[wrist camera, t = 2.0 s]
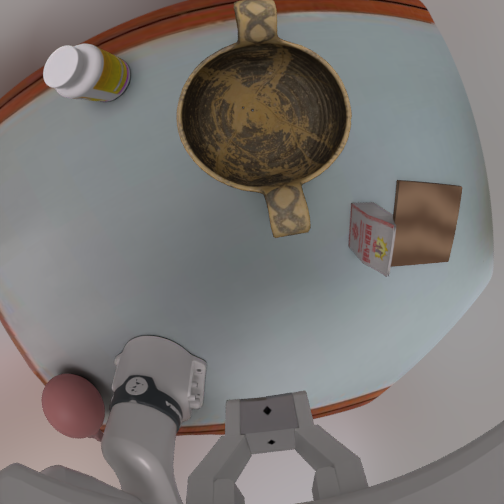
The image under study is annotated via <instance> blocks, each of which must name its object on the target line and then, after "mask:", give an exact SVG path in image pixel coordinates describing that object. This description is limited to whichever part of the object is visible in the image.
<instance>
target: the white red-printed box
mask: <svg viewBox="0 0 504 504" xmlns="http://www.w3.org/2000/svg"><path fill="white" fill-rule="evenodd" d="M395 233H396V224H395V223H394V220H393V214H391V213H390V212H388V211H386V210H385V209H383V208H382V207H380V206H379V205H377V204H375V203H374V202H371V203H351V219H350V234H349V247H350V248H351V250H352V251H353V252H354V253H355V254H356V255H357V257H358V258H359V259H360V260H361V261H362V263H363V264H365V265H367V266H369V267H371V268H373V269H375V270H377V271H378V272H380V273H382V274H383V275H385V276H386V277H387V274H388V276H389V273H390V267H391V261H392V255H393V248H394V241H395Z"/></svg>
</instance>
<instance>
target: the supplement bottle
mask: <svg viewBox="0 0 504 504" xmlns="http://www.w3.org/2000/svg"><path fill="white" fill-rule="evenodd" d="M43 76H44V81H45V83H46V84H47V85H48V86H50V87H52V88H55V89H56V91H57V92H58V93H59V94H60V95H61V96H63V97H66V98H72V99H83V100H91V101H100V102H107V101H111V100H114V99H115V98H117V97H119V96H120V95H121V94H122V93H123V92H124V90H125V89H126V87H127V86H128V83H129V80H130V69H129V67H128V65H127V63H126V62H125V61H124V60H122V59H120V58H118V57H116V56H114V55H112V54H110V53H108V52H106V51H104V50H102V49H100V48H98V47H96V46H94V45H91V44H80V45H77V46H74V47H73V46H63V47H60V48H58V49H57V50H55V51H54V52H53V53H52V54H51V56H50V57H49V58H48V60H47V62H46V64H45V67H44V72H43Z"/></svg>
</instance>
